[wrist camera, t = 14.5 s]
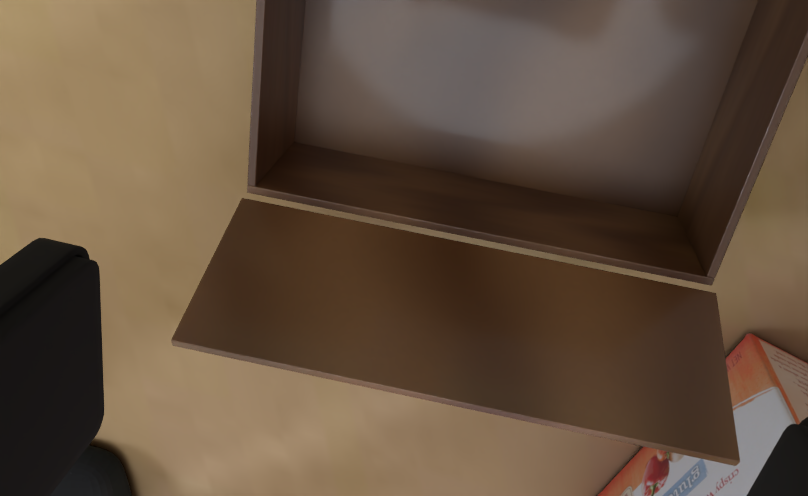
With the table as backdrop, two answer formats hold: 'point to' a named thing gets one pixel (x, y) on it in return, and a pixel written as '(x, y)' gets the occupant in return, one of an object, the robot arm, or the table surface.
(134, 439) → the table surface
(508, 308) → the flap
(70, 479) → the computer mouse
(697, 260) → the wooden box
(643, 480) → the cracker box
